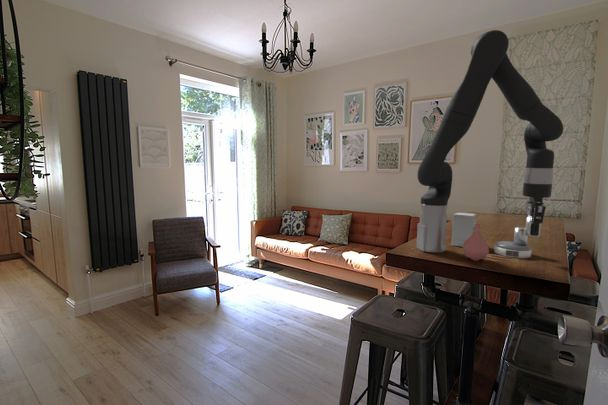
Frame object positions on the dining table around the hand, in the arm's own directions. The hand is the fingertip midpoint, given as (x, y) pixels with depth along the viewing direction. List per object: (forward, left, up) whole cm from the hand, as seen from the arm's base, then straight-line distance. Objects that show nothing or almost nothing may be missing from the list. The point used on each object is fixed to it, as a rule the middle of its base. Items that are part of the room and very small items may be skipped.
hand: (532, 233), depth 104 cm
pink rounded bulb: (-18, +1, -9) cm, 20 cm away
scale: (0, +8, -9) cm, 12 cm away
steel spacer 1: (+3, +8, -6) cm, 11 cm away
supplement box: (-11, +21, -9) cm, 26 cm away
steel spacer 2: (0, 0, -1) cm, 1 cm away
